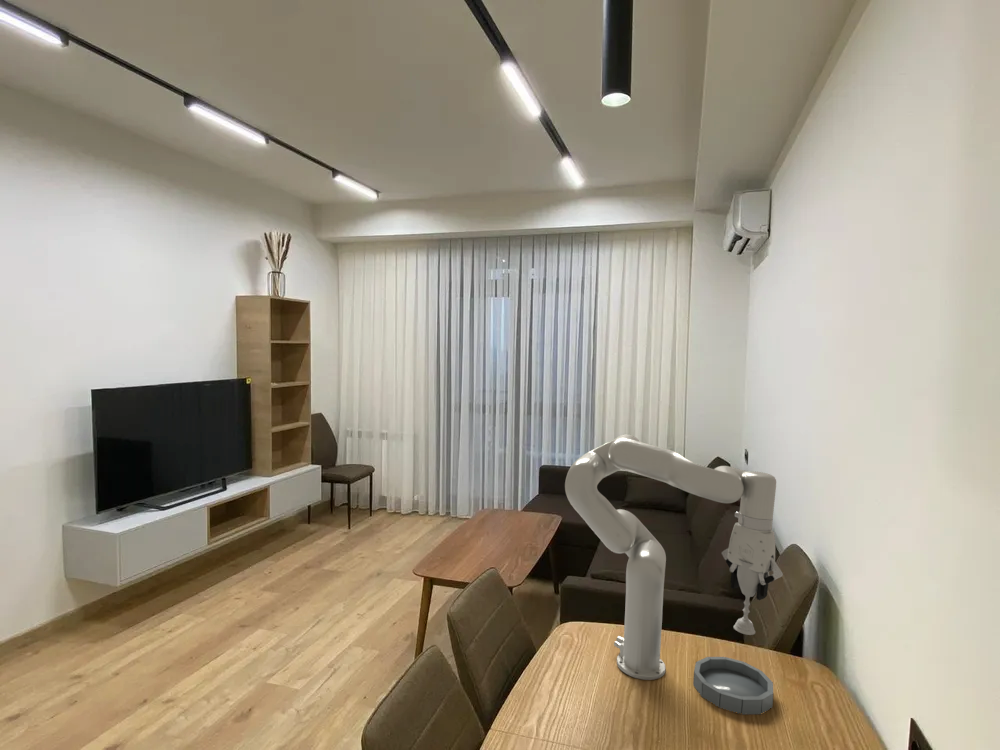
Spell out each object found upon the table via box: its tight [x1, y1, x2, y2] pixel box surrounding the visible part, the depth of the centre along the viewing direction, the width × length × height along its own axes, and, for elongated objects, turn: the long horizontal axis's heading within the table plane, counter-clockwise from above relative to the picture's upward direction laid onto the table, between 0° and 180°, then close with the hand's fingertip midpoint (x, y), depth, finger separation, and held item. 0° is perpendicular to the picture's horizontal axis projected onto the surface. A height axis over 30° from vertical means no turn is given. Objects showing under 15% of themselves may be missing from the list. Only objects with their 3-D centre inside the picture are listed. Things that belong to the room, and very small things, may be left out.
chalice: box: [733, 559, 760, 636], centre depth 136 cm, size 7×7×18 cm
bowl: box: [692, 656, 774, 715], centre depth 136 cm, size 18×18×4 cm
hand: (748, 592), depth 136 cm, fingers closed on chalice, 6 cm apart
